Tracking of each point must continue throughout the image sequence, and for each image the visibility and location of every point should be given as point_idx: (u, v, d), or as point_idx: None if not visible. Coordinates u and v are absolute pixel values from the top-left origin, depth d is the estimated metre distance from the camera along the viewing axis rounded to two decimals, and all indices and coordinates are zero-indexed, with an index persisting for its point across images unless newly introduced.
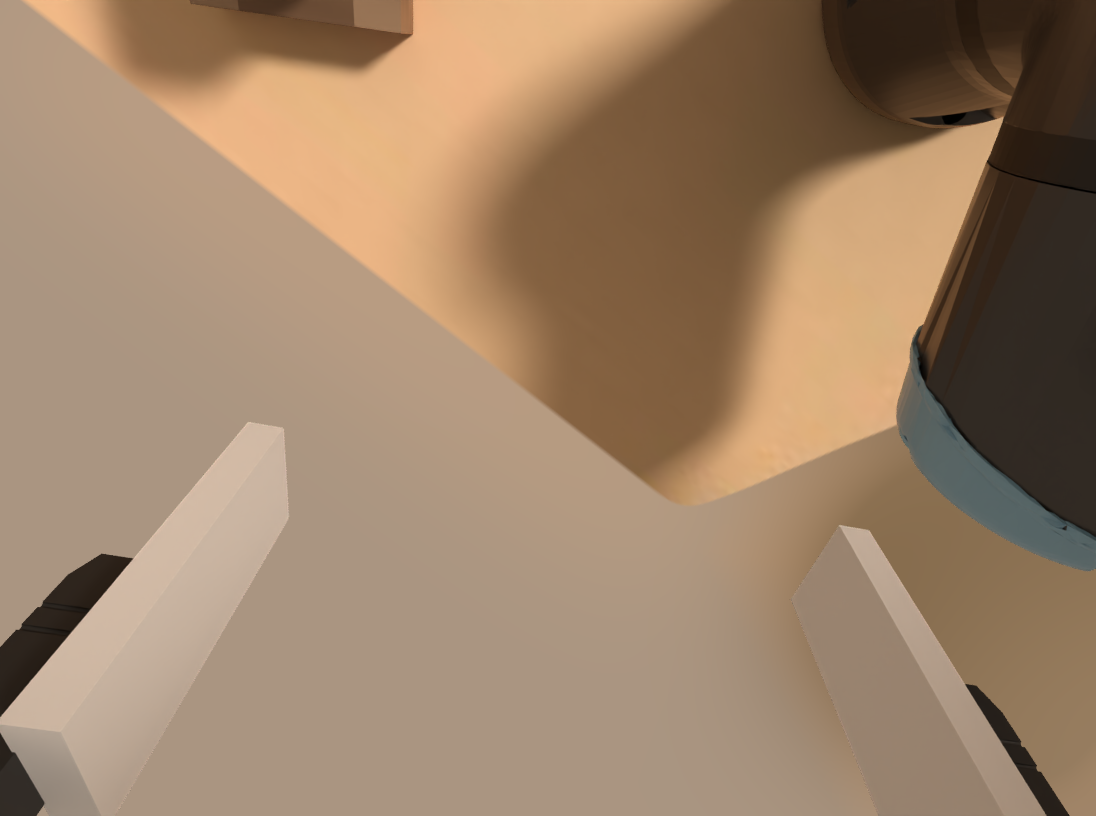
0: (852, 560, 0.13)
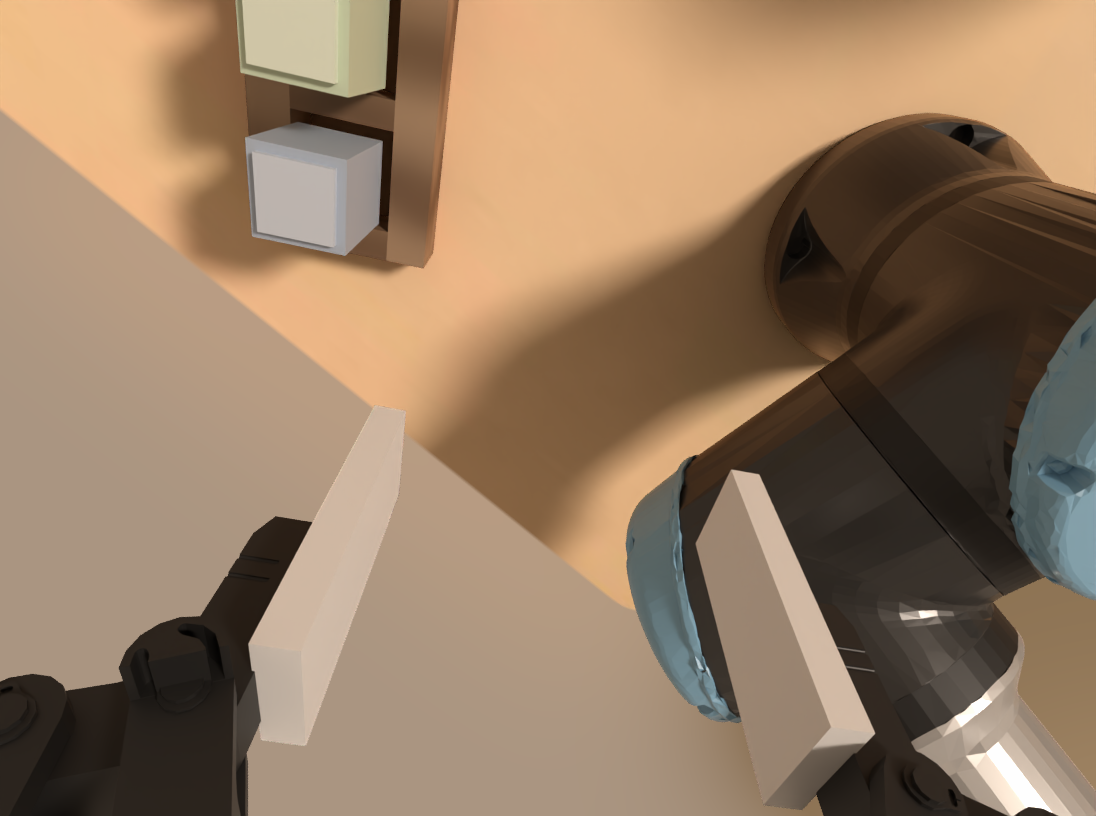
0: (738, 499, 0.14)
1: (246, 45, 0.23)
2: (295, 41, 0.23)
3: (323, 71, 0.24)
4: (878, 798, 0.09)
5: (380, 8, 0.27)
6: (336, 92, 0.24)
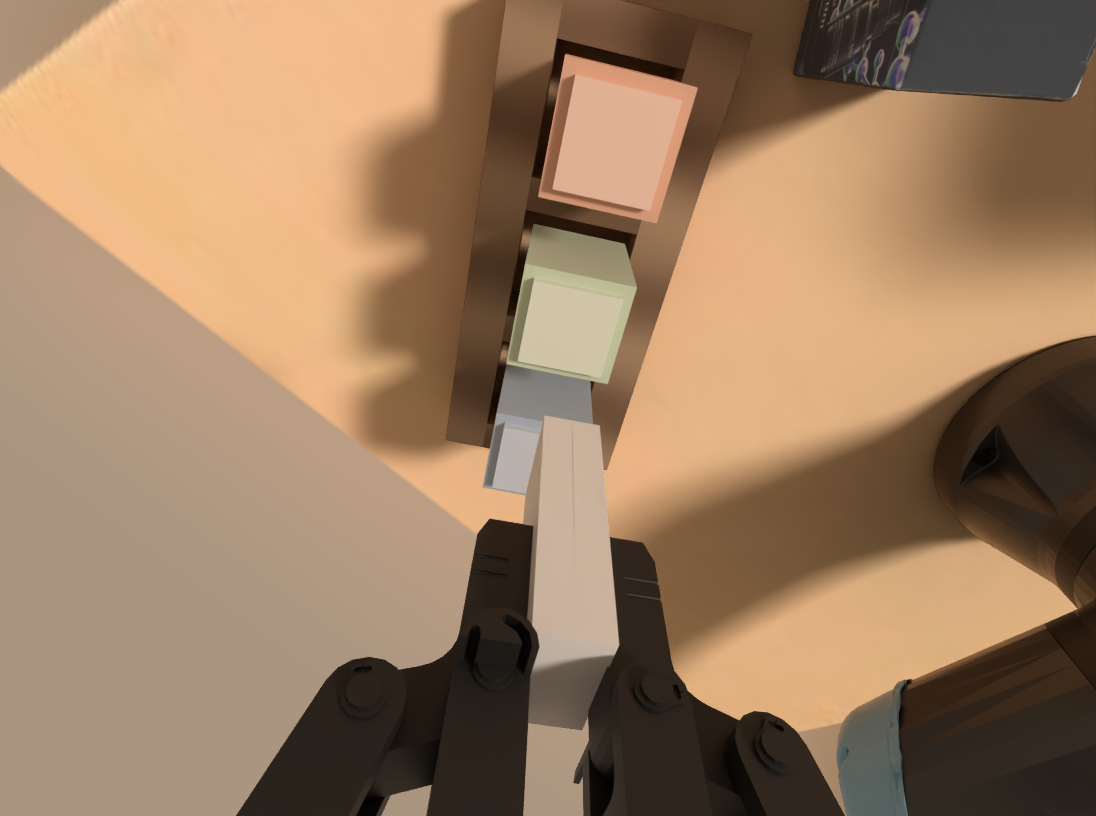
0: (570, 447, 0.14)
1: (521, 347, 0.24)
2: (571, 345, 0.24)
3: (592, 368, 0.24)
4: (616, 721, 0.09)
5: None
6: (597, 380, 0.25)
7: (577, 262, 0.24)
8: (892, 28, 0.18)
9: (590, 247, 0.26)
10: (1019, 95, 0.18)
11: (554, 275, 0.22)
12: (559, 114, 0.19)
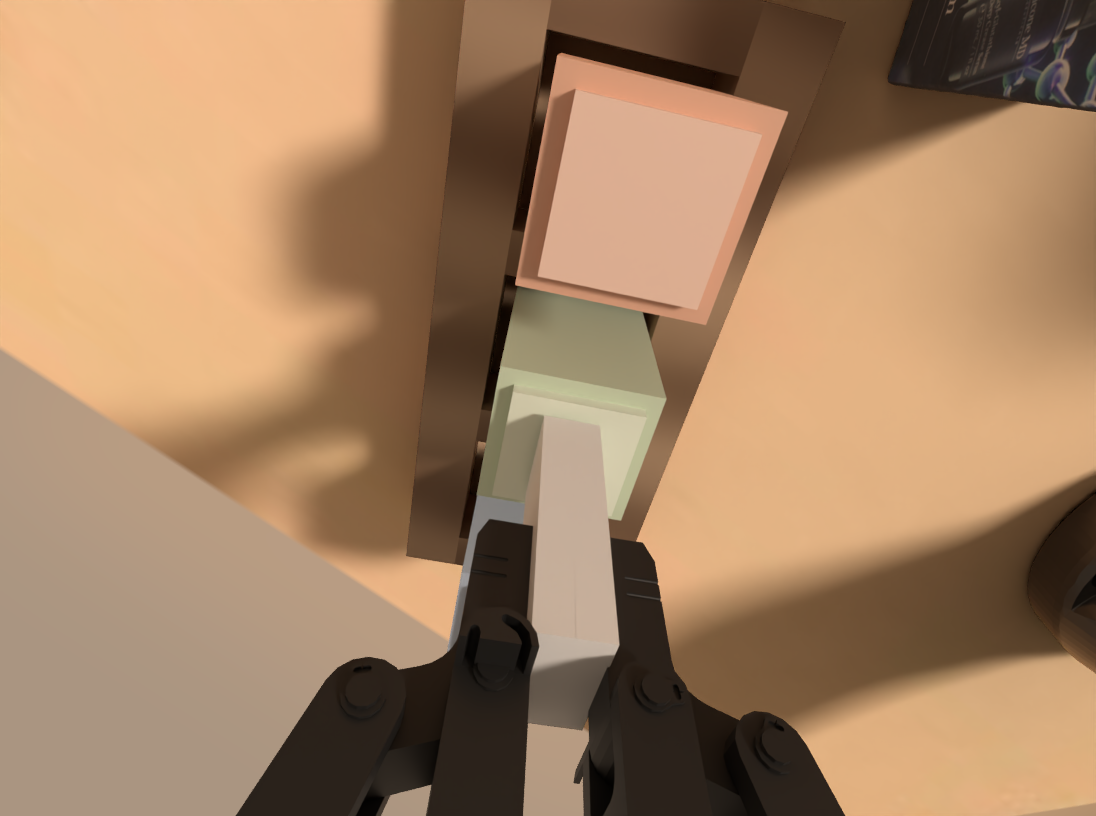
0: (570, 447, 0.14)
1: (497, 478, 0.16)
2: None
3: None
4: (617, 721, 0.09)
5: None
6: None
7: (578, 355, 0.16)
8: None
9: (596, 322, 0.19)
10: None
11: (544, 381, 0.15)
12: (548, 155, 0.11)
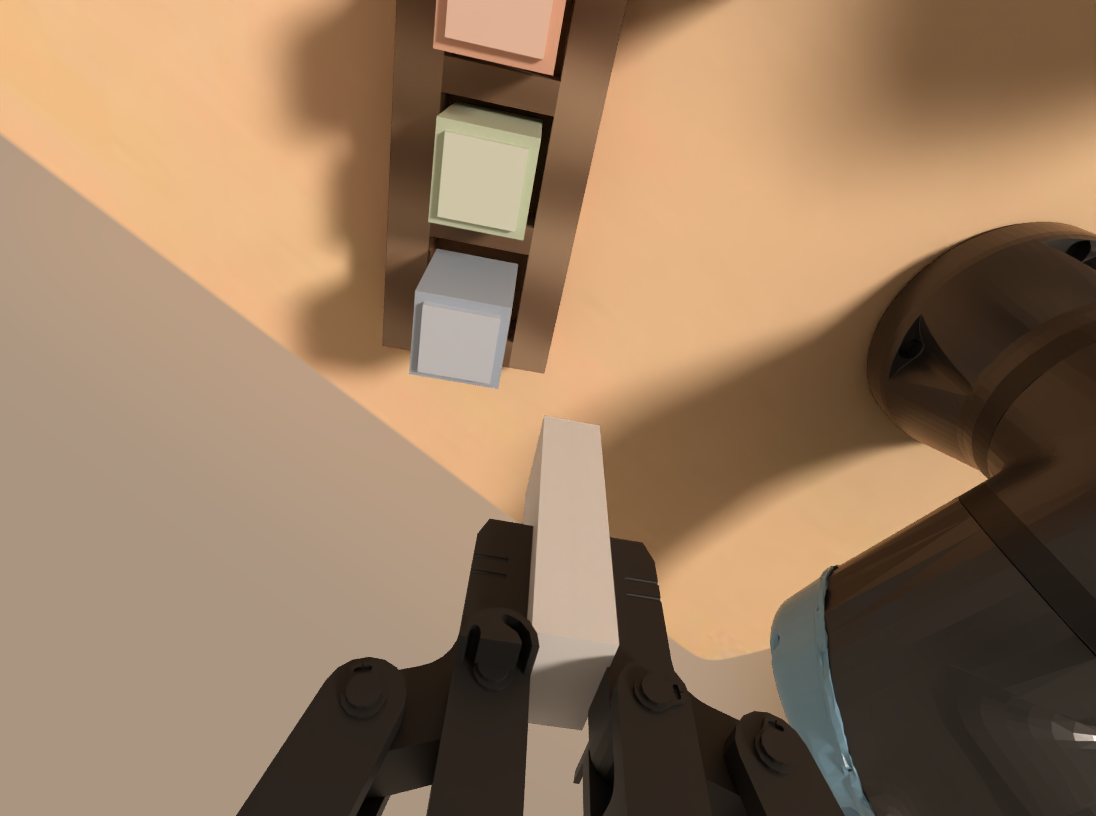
0: (570, 447, 0.14)
1: (439, 202, 0.26)
2: (485, 198, 0.26)
3: (506, 222, 0.26)
4: (616, 720, 0.09)
5: None
6: (513, 236, 0.27)
7: (489, 122, 0.26)
8: None
9: (506, 117, 0.28)
10: None
11: (464, 127, 0.24)
12: None
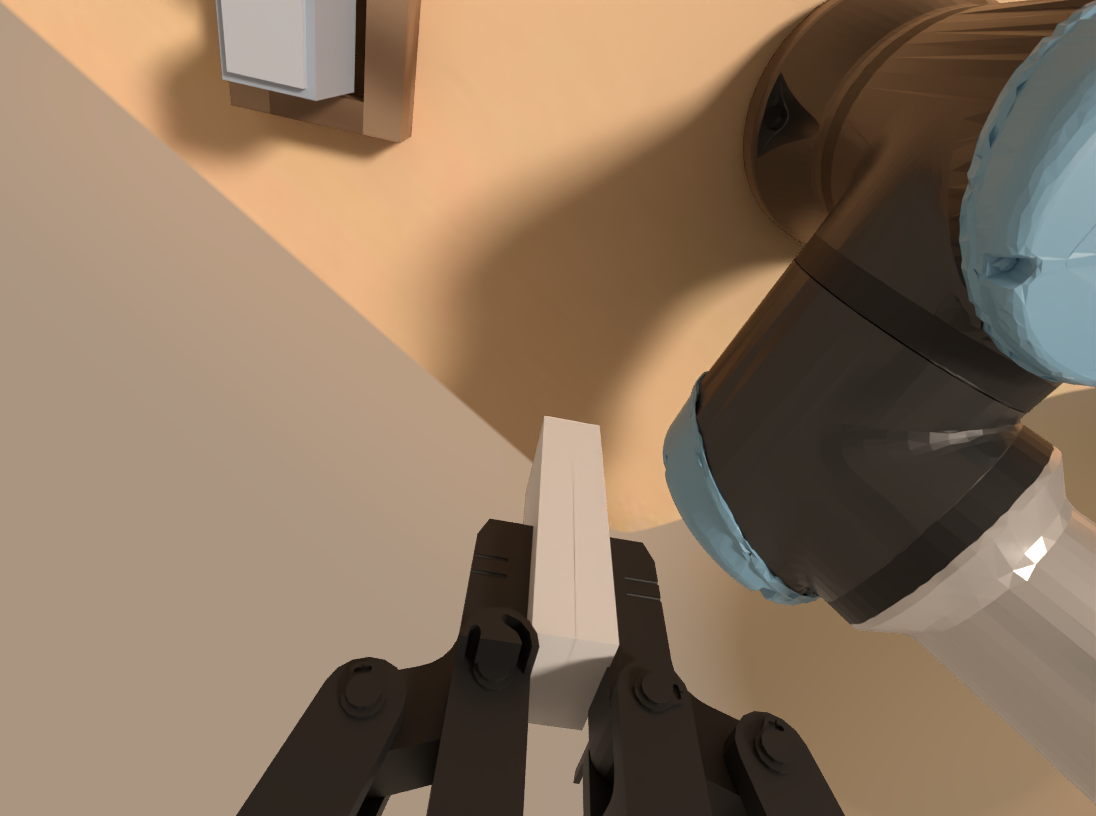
0: (570, 447, 0.14)
1: None
2: None
3: None
4: (615, 721, 0.09)
5: None
6: None
7: None
8: None
9: None
10: None
11: None
12: None
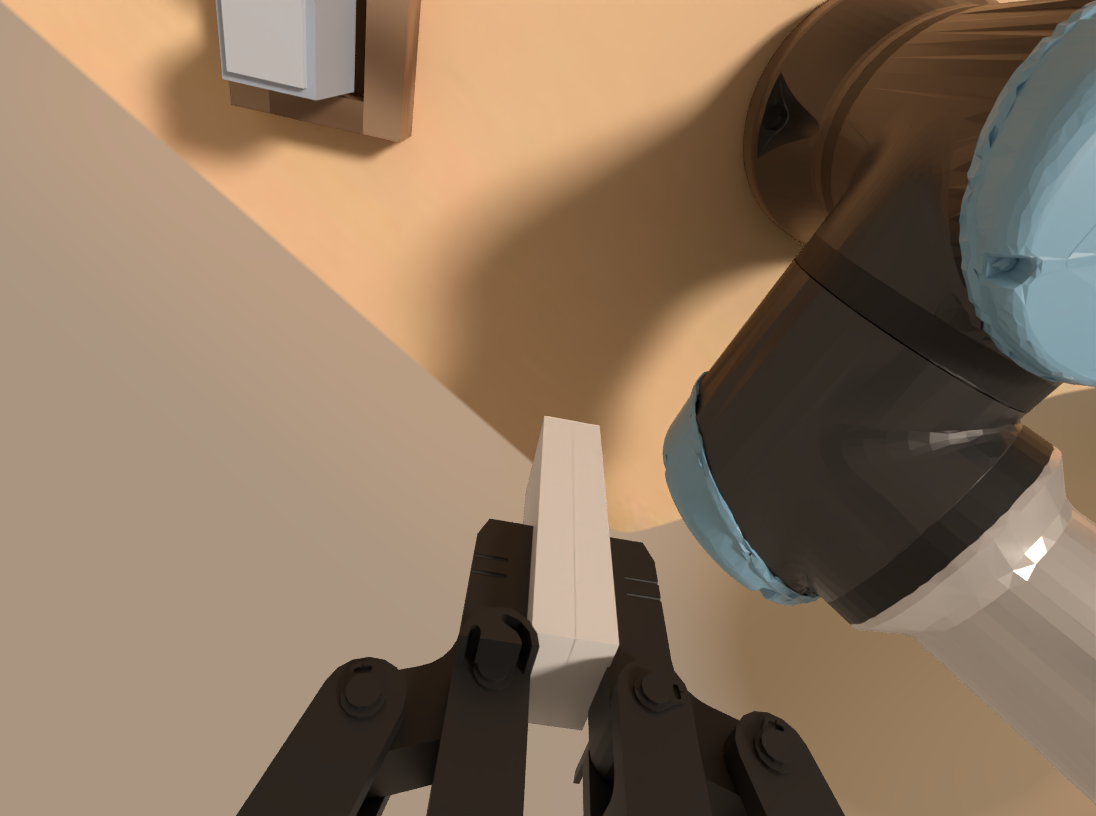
0: (570, 447, 0.14)
1: None
2: None
3: None
4: (616, 721, 0.09)
5: None
6: None
7: None
8: None
9: None
10: None
11: None
12: None
